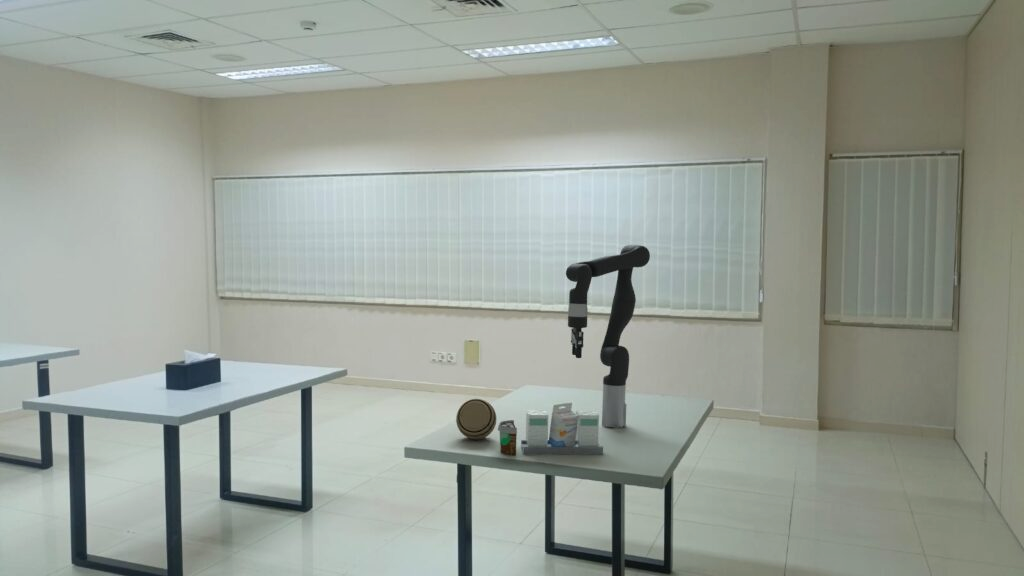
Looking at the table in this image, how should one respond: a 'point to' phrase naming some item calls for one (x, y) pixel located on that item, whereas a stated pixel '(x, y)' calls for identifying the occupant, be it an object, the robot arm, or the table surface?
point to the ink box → (563, 426)
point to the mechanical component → (476, 419)
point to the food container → (508, 437)
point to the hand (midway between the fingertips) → (576, 356)
